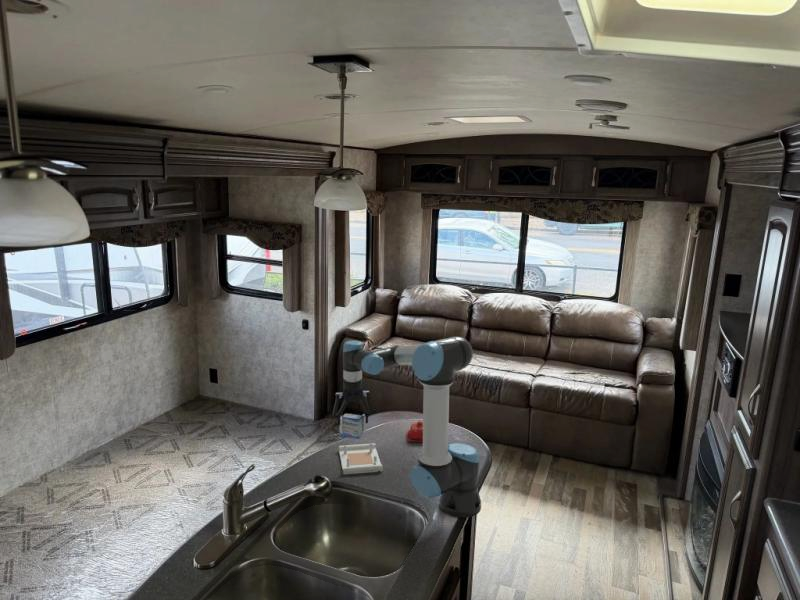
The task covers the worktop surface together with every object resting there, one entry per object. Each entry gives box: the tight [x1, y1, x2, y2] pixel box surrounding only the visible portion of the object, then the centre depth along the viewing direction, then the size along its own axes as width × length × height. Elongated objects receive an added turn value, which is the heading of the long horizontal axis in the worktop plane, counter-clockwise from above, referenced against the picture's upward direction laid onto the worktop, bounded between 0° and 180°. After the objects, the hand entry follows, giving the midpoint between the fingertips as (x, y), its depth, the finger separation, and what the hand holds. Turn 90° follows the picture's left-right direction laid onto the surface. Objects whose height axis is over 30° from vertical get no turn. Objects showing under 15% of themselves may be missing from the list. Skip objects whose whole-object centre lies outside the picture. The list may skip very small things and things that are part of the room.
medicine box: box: [341, 413, 364, 440], centre depth 226 cm, size 8×4×9 cm, turn 75°
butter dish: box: [406, 420, 423, 443], centre depth 255 cm, size 12×12×8 cm
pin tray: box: [338, 442, 384, 475], centre depth 233 cm, size 20×16×4 cm
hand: (352, 431), depth 226 cm, fingers closed on medicine box, 9 cm apart
